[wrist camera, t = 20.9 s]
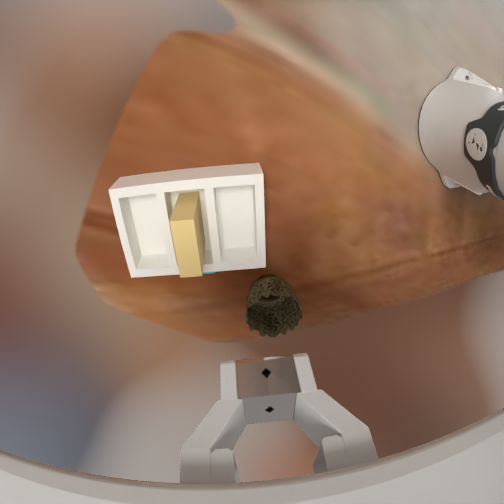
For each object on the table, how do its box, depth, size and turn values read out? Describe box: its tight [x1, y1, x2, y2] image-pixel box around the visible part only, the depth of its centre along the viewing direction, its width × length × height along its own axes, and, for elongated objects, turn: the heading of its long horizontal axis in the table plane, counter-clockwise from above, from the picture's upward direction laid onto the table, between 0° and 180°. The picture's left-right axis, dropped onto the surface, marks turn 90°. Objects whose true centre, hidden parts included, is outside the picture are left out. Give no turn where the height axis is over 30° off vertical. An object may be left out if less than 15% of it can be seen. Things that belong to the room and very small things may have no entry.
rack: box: [109, 163, 266, 278], centre depth 39 cm, size 18×13×4 cm
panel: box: [170, 191, 205, 278], centre depth 37 cm, size 2×7×8 cm, turn 3°
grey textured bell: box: [246, 274, 302, 337], centre depth 44 cm, size 8×7×8 cm
